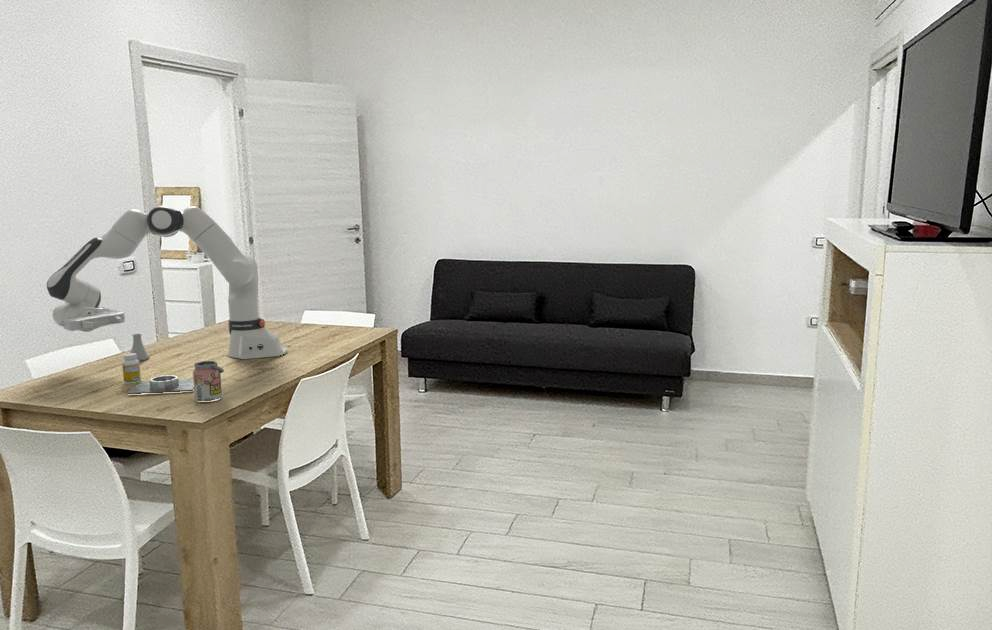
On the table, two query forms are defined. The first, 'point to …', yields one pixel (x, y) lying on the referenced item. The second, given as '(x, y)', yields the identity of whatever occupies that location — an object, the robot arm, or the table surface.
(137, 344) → the flask
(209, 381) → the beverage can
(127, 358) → the supplement bottle
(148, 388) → the collar plate
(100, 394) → the table surface
